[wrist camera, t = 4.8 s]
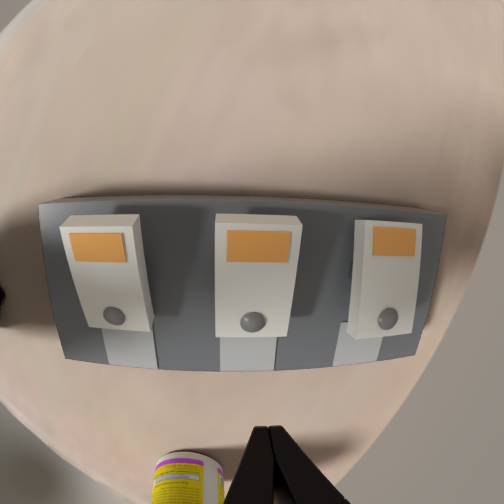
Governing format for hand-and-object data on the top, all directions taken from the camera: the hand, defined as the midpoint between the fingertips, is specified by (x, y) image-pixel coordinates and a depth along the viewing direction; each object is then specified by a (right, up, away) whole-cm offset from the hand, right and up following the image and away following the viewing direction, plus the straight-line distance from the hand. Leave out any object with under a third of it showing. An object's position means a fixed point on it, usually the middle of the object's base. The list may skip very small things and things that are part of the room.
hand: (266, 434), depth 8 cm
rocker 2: (+7, +4, +7) cm, 10 cm away
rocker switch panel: (-1, +4, +11) cm, 12 cm away
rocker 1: (-7, +4, +6) cm, 10 cm away
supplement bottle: (-7, -16, +16) cm, 23 cm away
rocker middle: (0, +4, +6) cm, 7 cm away
